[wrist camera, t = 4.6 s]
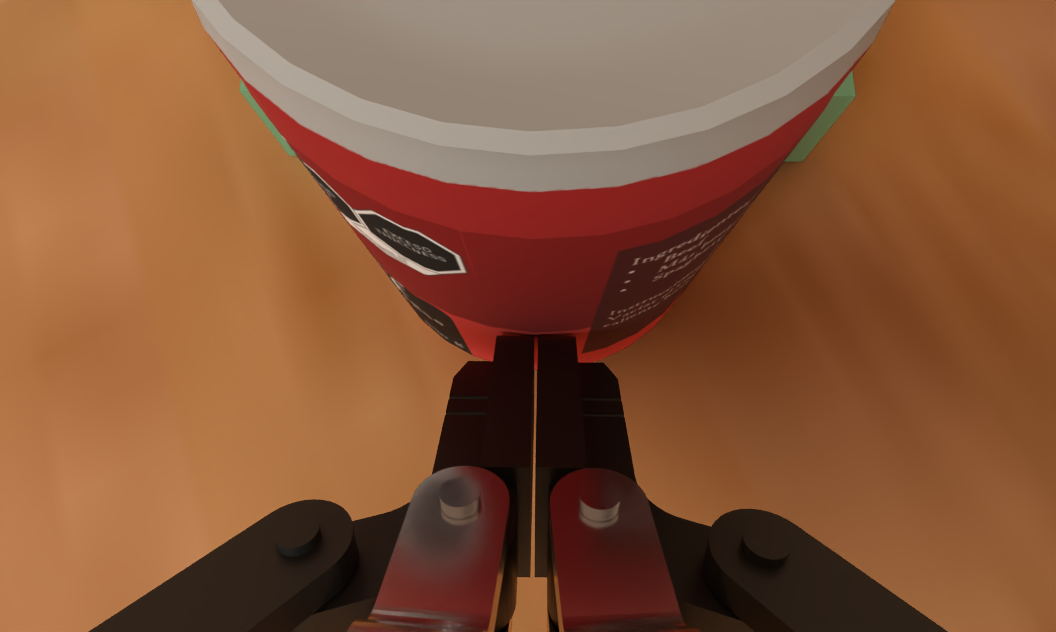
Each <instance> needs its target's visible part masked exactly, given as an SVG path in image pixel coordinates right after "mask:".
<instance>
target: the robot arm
mask: <svg viewBox="0 0 1056 632" xmlns="http://www.w3.org/2000/svg"><path fill="white" fill-rule="evenodd" d="M533 441H534V336H496V343H495V350H494V358H493V361H468V362H467V363H466V364H465V365H464V366H463V367H462V369H461V370H460V371H459V372H458V373H457V374H456V375H455V376H454V378H453V382H452V387H451V391H450V398H449V400H448V405H447V409H446V415H445V418H444V423H443V427H442V432H441V436H440V441H439V445H438V450H437V454H436V459H435V463H434V468H433V472H432V475H431V476H429V477H428V478H426V479H425V480H424V481H423V482H422V483H421V484H420V485H419V486H418V488H417V489H416V490H415V492H414V495H413V497H412V499H411V502H409V503H407V504H406V505H404V506H402V507H400V508H398V509H396V510H393V511H390V512H387V513H384V514H380V515H376V516H372V517H368V518H364V519H359V520H355V521H352V520H351V517H350V516H349V514H348V512H347V511H346V510H345V509H344V508H342V507H341V506H339V505H338V504H335V503H333V502H330V501H325V500H315V499H314V500H303V501H298V502H294V503H291V504H288V505H286V506H283V507H281V508H279V509H277V510H275V511H274V512H272V513H270V514H269V515H267V516H265V517H264V518H262V519H261V520H259V521H258V522H256V523H255V524H253V525H252V526H250V527H249V528H247V529H246V530H244V531H242V532H241V533H239V534H238V535H236V536H235V537H233V538H232V539H230V540H229V541H227V542H226V543H224V544H222V545H221V546H219V547H218V548H216V549H215V550H213V551H212V552H210V553H209V554H207V555H206V556H204V557H203V558H201V559H199V560H198V561H196V562H195V563H193V564H192V565H190V566H189V567H187V568H186V569H184V570H183V571H181V572H180V573H178V574H176V575H175V576H173V577H172V578H170V579H169V580H167V581H166V582H164V583H163V584H161V585H160V586H158V587H156V588H155V589H153V590H152V591H150V592H149V593H147V594H146V595H144V596H143V597H141V598H140V599H138V600H137V601H135V602H133V603H132V604H130V605H129V606H127V607H126V608H124V609H123V610H121V611H120V612H118V613H117V614H115V615H114V616H112V617H110V618H109V619H107V620H106V621H104V622H103V623H101V624H100V625H98V626H97V627H95V628H94V629H92V630H90V631H89V632H511V630H512V616H513V613H514V610H515V606H516V593H517V577H530V566H531V524H532V483H533ZM535 577H547V632H947V631H946V630H945V629H943V628H942V627H940V626H939V625H937V624H936V623H935V622H933V621H932V620H930V619H929V618H927V617H926V616H925V615H923V614H922V613H920V612H919V611H917V610H916V609H915V608H913V607H912V606H910V605H909V604H908V603H906V602H905V601H903V600H902V599H900V598H899V597H898V596H896V595H895V594H893V593H892V592H890V591H889V590H888V589H886V588H885V587H883V586H882V585H880V584H879V583H878V582H876V581H875V580H873V579H872V578H870V577H869V576H868V575H866V574H865V573H863V572H862V571H861V570H859V569H858V568H856V567H855V566H853V565H852V564H851V563H849V562H848V561H846V560H845V559H843V558H842V557H841V556H839V555H838V554H836V553H835V552H833V551H832V550H831V549H829V548H828V547H826V546H825V545H823V544H822V543H821V542H819V541H818V540H816V539H815V538H813V537H812V536H811V535H809V534H808V533H806V532H805V531H804V530H802V529H801V528H799V527H798V526H796V525H795V524H793V523H792V522H790V521H789V520H787V519H785V518H783V517H781V516H779V515H776V514H773V513H770V512H767V511H762V510H756V509H739V510H734V511H731V512H728V513H726V514H724V515H722V516H720V517H719V518H718V519H717V520H716V521H715V522H714V524H713V525H712V527H710V526H706V525H703V524H699V523H696V522H692V521H689V520H685V519H682V518H679V517H676V516H673V515H671V514H669V513H667V512H665V511H663V510H662V509H660V508H658V507H657V506H656V505H654V504H653V503H652V502H650V501H649V500H648V499H647V497H646V495H645V493H644V492H643V490H642V489H641V488H640V487H639V486H638V484H637V482H636V478H635V474H634V468H633V463H632V457H631V452H630V446H629V440H628V435H627V429H626V423H625V418H624V412H623V406H622V402H621V395H620V389H619V384H618V379H617V378H616V377H615V375H614V374H613V373H612V372H611V371H610V370H609V368H608V367H607V366H606V365H605V364H604V363H585V362H578V355H577V343H576V336H538V364H537V418H536V479H535Z"/></svg>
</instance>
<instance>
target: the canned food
mask: <svg viewBox="0 0 1056 632" xmlns="http://www.w3.org/2000/svg"><path fill="white" fill-rule="evenodd" d="M191 1H192V3H193V5H194V7H195V10H196V12H197V14H198V16H199V18H200V21H201V23H202V25H203V27H204V29H205V31H206V32H207V33H208V35H209V36H210V37H211V39H212V40H213V41H214V43H215V44H216V46H217V47H218V48H219V50H220V51H221V52H222V54H223V55H224V56H225V58H226V59H227V60H228V62H229V63H230V64H231V66H232V67H233V68H234V70H235V71H236V72H237V74H238V75H239V77H240V78H241V79H242V81H243V83H244V84H245V86H246V88H247V89H248V91H249V93H250V94H251V96H252V97H253V99H254V100H255V101H256V102H257V104H258V105H259V106H260V108H261V109H262V110H263V112H264V113H265V114H266V116H267V117H268V118H269V120H270V121H271V122H272V124H273V125H274V126H275V128H276V129H277V130H278V132H279V133H280V134H281V135H282V137H283V138H284V139H285V141H286V142H287V143H288V145H289V146H290V147H291V149H292V150H293V151H294V153H295V154H296V155H297V157H298V158H299V159H300V161H301V162H302V163H303V164H304V166H305V167H306V168H307V170H308V171H309V172H310V174H311V175H312V176H313V178H314V179H315V180H316V182H317V183H318V184H319V186H320V187H321V188H322V190H323V191H324V192H325V194H326V195H327V196H328V197H329V199H330V200H331V201H332V203H333V204H334V205H335V207H336V208H337V209H338V211H339V212H340V213H341V215H342V216H343V217H344V219H345V220H346V221H347V223H348V224H349V225H350V226H351V228H352V229H353V230H354V232H355V233H356V234H357V236H358V237H359V238H360V240H361V241H362V242H363V244H364V245H365V246H366V248H367V249H368V250H369V252H370V253H371V254H372V256H373V257H374V258H375V259H376V261H377V262H378V263H379V265H380V266H381V267H382V269H383V270H384V271H385V273H386V274H387V275H388V277H389V278H390V279H391V281H392V282H393V283H394V285H395V286H396V287H397V289H398V290H399V291H400V292H401V294H402V295H403V296H404V298H405V299H406V300H407V302H408V303H409V304H410V305H411V307H412V308H413V309H414V310H415V312H416V313H417V314H418V315H419V317H420V318H421V319H422V321H423V322H425V323H426V324H427V325H428V326H429V327H431V328H432V329H433V330H434V331H435V332H436V333H438V334H439V335H440V336H441V337H442V338H444V339H445V340H446V341H448V342H449V343H451V344H453V345H455V346H457V347H459V348H460V349H462V350H464V351H466V352H468V353H469V354H471V355H473V356H476V357H479V358H482V359H485V360H488V361H493V358H494V350H495V343H496V336H534V370H537V364H538V336H576V343H577V355H578V362H585V363H590V362H594V361H598V360H601V359H603V358H605V357H607V356H609V355H612V354H614V353H616V352H618V351H620V350H622V349H624V348H626V347H628V346H630V345H631V344H632V343H634V342H635V341H636V340H638V339H639V338H640V337H642V336H643V335H644V334H646V333H647V332H648V331H650V330H651V329H652V328H653V327H654V326H655V325H656V324H657V323H658V321H659V320H660V319H661V318H662V317H663V316H664V315H665V313H666V312H667V311H668V310H669V309H670V308H671V307H672V305H673V304H674V303H675V302H676V300H677V299H678V298H679V296H680V295H681V294H682V293H683V291H684V290H685V289H686V287H687V286H688V285H689V284H690V282H691V281H692V280H693V278H694V277H695V276H696V274H697V273H698V272H699V271H700V269H701V268H702V267H703V265H704V264H705V263H706V262H707V260H708V259H709V258H710V256H711V255H712V254H713V253H714V251H715V250H716V249H717V247H718V246H719V245H720V244H721V242H722V241H723V240H724V238H725V237H726V236H727V235H728V233H729V232H730V231H731V229H732V228H733V227H734V226H735V224H736V223H737V222H738V220H739V219H740V218H741V217H742V215H743V214H744V213H745V211H746V210H747V209H748V208H749V206H750V205H751V204H752V202H753V201H754V200H755V199H756V197H757V196H758V195H759V193H760V192H761V191H762V190H763V188H764V187H765V186H766V184H767V183H768V182H769V181H770V179H771V178H772V177H773V175H774V174H775V173H776V172H777V170H778V169H779V168H780V166H781V165H782V164H783V163H784V161H785V160H786V159H787V157H788V156H789V155H790V154H791V152H792V151H793V150H794V148H795V147H796V146H797V145H798V143H799V142H800V141H801V139H802V138H803V137H804V136H805V134H806V133H807V132H808V130H809V129H810V128H811V127H812V125H813V124H814V123H815V121H816V120H817V119H818V118H819V116H820V115H821V114H822V112H823V111H824V110H825V108H826V107H827V105H828V104H829V102H830V100H831V99H832V97H833V95H834V94H835V92H836V91H837V89H838V88H839V87H840V85H841V84H842V83H843V82H844V80H845V79H846V78H847V76H848V75H849V74H850V72H851V71H852V70H853V68H854V67H855V66H856V64H857V63H858V62H859V60H860V59H861V58H862V57H863V55H864V54H865V53H866V51H867V50H868V49H869V47H870V46H871V45H872V43H873V42H874V40H875V38H876V36H877V34H878V32H879V30H880V29H881V27H882V25H883V23H884V21H885V19H886V17H887V15H888V13H889V11H890V9H891V8H892V6H893V4H894V2H895V1H896V0H191Z"/></svg>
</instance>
